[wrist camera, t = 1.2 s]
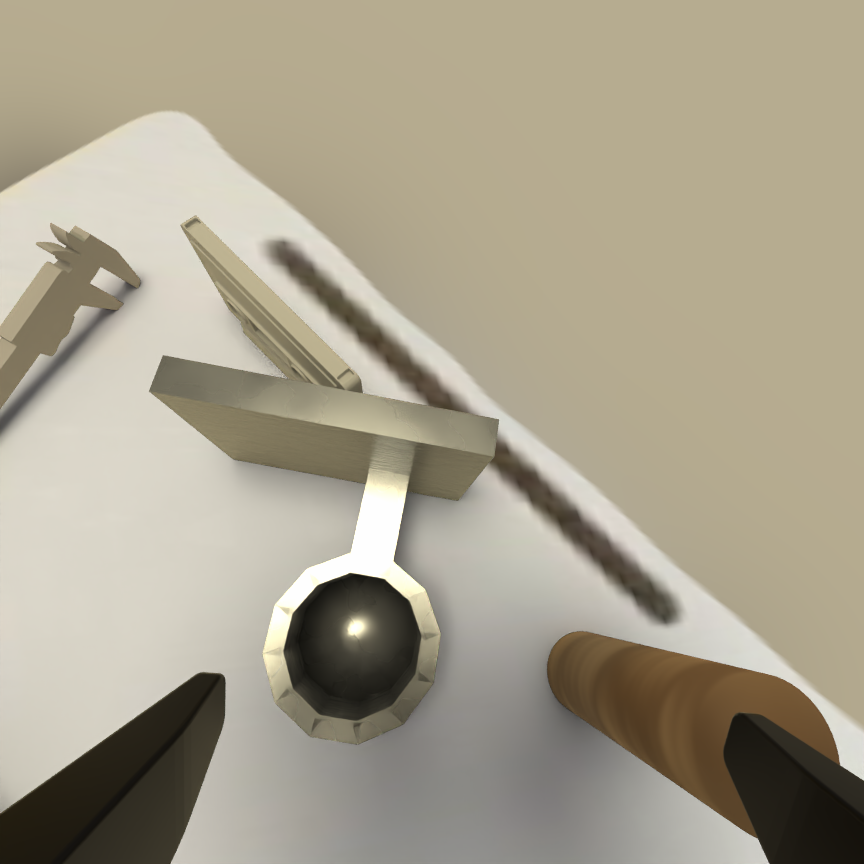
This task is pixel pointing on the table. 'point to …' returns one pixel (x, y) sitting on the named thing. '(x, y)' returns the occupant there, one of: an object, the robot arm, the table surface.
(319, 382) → the cassette
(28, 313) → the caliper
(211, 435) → the cup bracket
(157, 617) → the table surface
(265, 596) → the table surface
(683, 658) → the rail post
